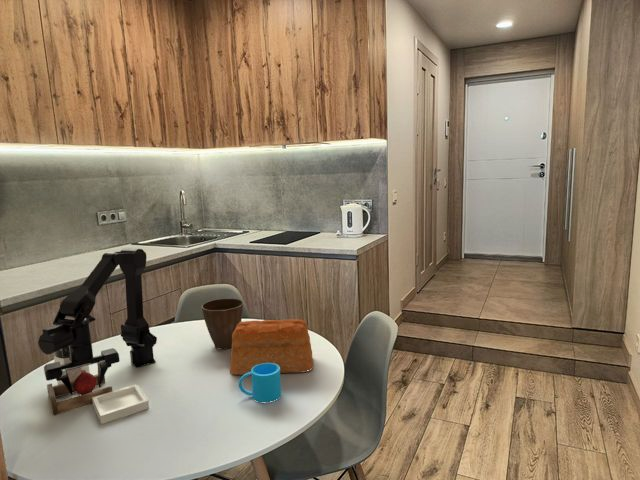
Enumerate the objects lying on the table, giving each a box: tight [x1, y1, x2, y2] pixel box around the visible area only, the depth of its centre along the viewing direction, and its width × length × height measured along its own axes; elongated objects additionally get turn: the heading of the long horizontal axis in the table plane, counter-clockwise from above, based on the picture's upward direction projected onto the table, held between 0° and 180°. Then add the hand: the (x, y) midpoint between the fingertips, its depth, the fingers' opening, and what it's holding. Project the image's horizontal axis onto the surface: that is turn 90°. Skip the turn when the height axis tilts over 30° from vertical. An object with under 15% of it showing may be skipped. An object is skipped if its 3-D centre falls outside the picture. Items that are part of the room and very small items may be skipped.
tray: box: [92, 384, 150, 425], centre depth 121 cm, size 12×12×2 cm
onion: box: [74, 370, 97, 396], centre depth 127 cm, size 6×6×8 cm
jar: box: [53, 350, 91, 385], centre depth 136 cm, size 9×8×12 cm
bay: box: [46, 373, 114, 416], centre depth 126 cm, size 15×12×4 cm
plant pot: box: [201, 298, 244, 350], centre depth 160 cm, size 15×15×16 cm
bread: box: [229, 318, 314, 376], centre depth 142 cm, size 14×27×15 cm, turn 92°
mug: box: [237, 363, 282, 403], centre depth 124 cm, size 12×8×8 cm
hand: (86, 390), depth 127 cm, fingers open, 7 cm apart
